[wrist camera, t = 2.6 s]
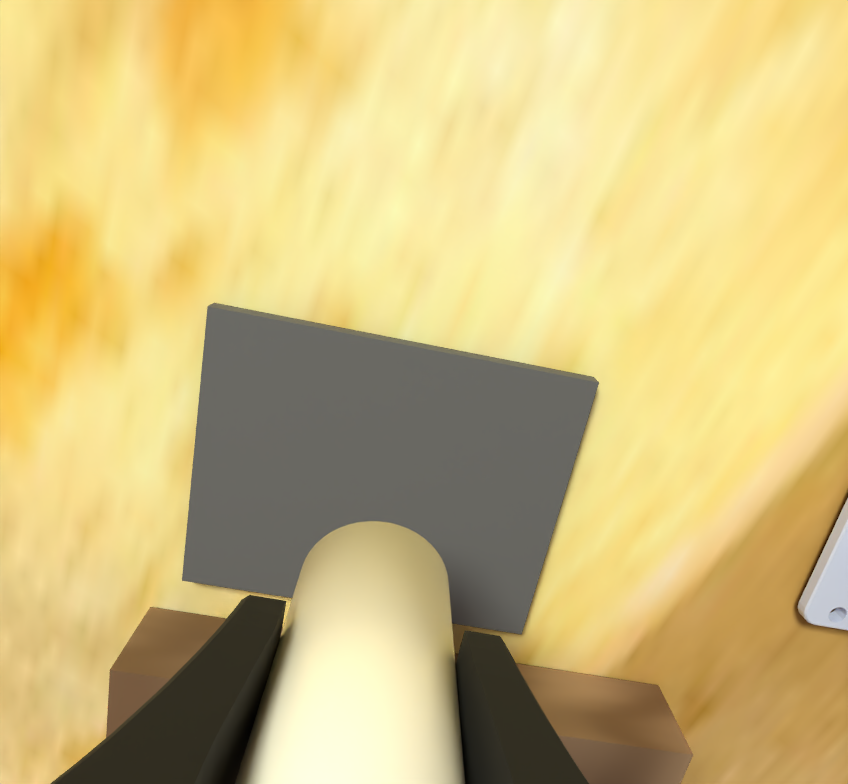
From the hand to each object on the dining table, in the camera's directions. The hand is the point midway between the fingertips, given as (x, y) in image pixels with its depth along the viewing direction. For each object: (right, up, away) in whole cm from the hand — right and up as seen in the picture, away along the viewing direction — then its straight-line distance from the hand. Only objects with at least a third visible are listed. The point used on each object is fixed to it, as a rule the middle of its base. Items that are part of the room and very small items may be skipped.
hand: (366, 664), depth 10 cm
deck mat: (0, +2, +7) cm, 7 cm away
